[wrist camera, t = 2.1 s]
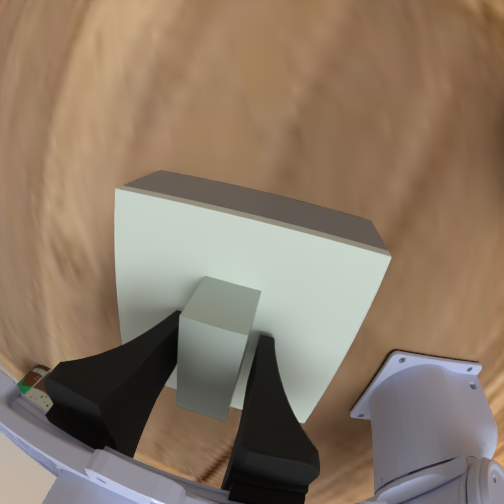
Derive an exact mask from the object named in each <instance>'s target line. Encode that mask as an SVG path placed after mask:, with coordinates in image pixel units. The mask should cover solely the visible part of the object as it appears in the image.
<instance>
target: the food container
mask: <svg viewBox="0 0 504 504" xmlns="http://www.w3.org/2000/svg"><path fill="white" fill-rule="evenodd" d="M51 372H52V371H51V369H50V368H48V367H46V366H43V365H38V366H36V367H35V368H34V369H33V370H32V371H30V372H29V373H28V374H27V375H26V376H25V377H24V378H23V379H22V380H21V381H20V382H18V383H17V385H18V387H19V389H20V392H21V393H23V394H24V395H25V396H27V397H28V398H29V399H31V400H32V401H33V402H35V403H36V404H38V405H39V406H41V407H42V408H43V409H45V410H46V411H49V409H50V408H51V407H52V405H53V403H52V401H51V399H50V397H49V395H48V393H47V391H46V389H45V386H44V380H45V379H46V378H47V376H48V375H49V374H50V373H51Z"/></svg>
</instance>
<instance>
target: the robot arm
mask: <svg viewBox="0 0 504 504" xmlns="http://www.w3.org/2000/svg"><path fill="white" fill-rule="evenodd" d="M181 313H182V311H179V310H176V311H175V312H173V313H172V314H171V315H169V316H168V317H167V318H165V319H164V320H162V321H161V322H160V323H158V324H157V325H155V326H154V327H152V328H151V329H149V330H148V331H146V332H145V333H143V334H141V335H140V336H138V337H136V338H134V339H133V340H131V341H129V342H127V343H125V344H123V345H121V346H119V347H116V348H114V349H112V350H109V351H106V352H104V353H101V354H98V355H94V356H91V357H87V358H83V359H78V360H72V361H65V362H60V363H59V364H58V365H57V366H56V367H55V368H54V369H53V370H52V372H51V373H50V374H49V375H48V376H47V378H46V379H45V380H44V386H45V389H46V391H47V393H48V395H49V397H50V399H51V401H52V403H53V405H52V407H51V408H50V409H49V411H46V410H45V409H43V408H42V407H41V406H39V405H38V404H36V403H35V402H33V401H32V400H31V399H29V398H28V397H27V396H25V395H24V394H23V393H21V392H20V389H19V387H18V385H17V384H16V383H15V382H14V381H13V380H12V379H11V378H10V377H9V376H8V375H6V374H5V373H4V372H3V371H1V370H0V431H1V432H2V433H3V434H4V435H5V436H6V437H8V438H9V439H10V440H11V441H12V442H13V443H14V444H16V445H17V446H18V447H19V448H21V450H23V451H24V452H25V453H26V454H27V455H29V456H30V457H31V458H32V459H34V460H35V461H36V462H38V463H39V464H40V465H41V466H43V467H44V468H46V469H47V470H48V471H49V472H51V473H52V474H54V475H55V476H56V477H57V479H56V480H55V482H54V484H53V485H52V487H51V489H50V491H49V492H48V494H47V496H46V498H45V499H44V501H43V503H42V504H304V502H305V494H307V493H308V487H309V484H310V483H311V482H313V481H314V480H315V479H316V478H317V477H318V476H319V474H320V460H319V454H318V450H317V449H316V447H315V446H314V445H313V444H312V442H311V441H310V439H309V438H308V437H307V435H306V433H305V432H304V430H303V429H302V427H301V425H300V423H299V422H298V420H297V418H296V416H295V414H294V412H293V410H292V408H291V406H290V404H289V401H288V399H287V396H286V393H285V391H284V388H283V384H282V381H281V377H280V373H279V369H278V364H277V359H276V352H275V339H274V338H273V337H270V336H266V335H262V334H261V335H260V338H259V341H258V345H257V348H256V352H255V355H254V358H253V362H252V365H251V369H250V373H249V376H248V380H247V385H246V391H245V397H244V403H243V409H242V415H241V420H240V425H239V429H238V432H237V436H236V439H235V443H234V446H233V450H232V453H231V456H230V460H229V463H228V466H227V470H226V473H225V476H224V479H223V483H222V486H221V489H218V488H215V487H211V486H207V485H204V484H200V483H197V482H194V481H191V480H188V479H185V478H182V477H179V476H176V475H173V474H170V473H167V472H165V471H162V470H159V469H157V468H154V467H152V466H149V465H147V464H144V463H142V462H140V461H137V460H135V459H133V457H134V454H135V451H136V448H137V445H138V443H139V440H140V437H141V435H142V432H143V430H144V427H145V425H146V422H147V420H148V418H149V415H150V413H151V411H152V408H153V406H154V404H155V402H156V399H157V398H158V396H159V394H160V392H161V390H162V389H163V387H164V385H165V384H166V382H167V380H168V379H169V377H170V375H171V374H172V372H173V370H174V369H175V367H176V365H177V357H178V335H179V317H180V314H181ZM401 358H403V359H401ZM481 369H482V366H481V364H480V363H475V362H467V361H459V360H452V359H445V358H438V357H432V356H425V355H419V354H413V353H407V352H401V351H395V352H393V353H391V354H390V355H389V357H388V359H387V360H386V362H385V363H384V365H383V366H382V368H381V369H380V371H379V372H378V374H377V375H376V377H375V378H374V380H373V381H372V383H371V384H370V385H369V387H368V388H367V390H366V391H365V393H364V394H363V395H362V397H361V398H360V399H359V401H358V402H357V403H356V405H355V406H354V407H353V409H352V410H351V411H350V416H351V417H352V418H358V419H367V420H371V431H372V445H373V462H374V493H375V495H374V496H373V497H371V498H369V499H366V501H362V502H358V503H356V504H504V470H503V468H502V467H501V465H500V464H499V463H498V462H497V461H495V460H491V458H492V456H493V454H494V452H495V449H496V444H497V426H496V422H495V419H494V417H493V414H492V411H491V409H490V406H489V403H488V401H487V398H486V396H485V393H484V391H483V389H482V386H481V384H480V382H479V379H478V377H477V374H478V373H479V372H480V371H481Z"/></svg>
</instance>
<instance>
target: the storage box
mask: <svg viewBox="0 0 504 504" xmlns="http://www.w3.org/2000/svg"><path fill="white" fill-rule="evenodd" d="M123 186H128V187H133V188H137V189H142V190H147V191H152V192H157V193H161V194H166V195H171V196H175V197H180V198H184V199H189V200H193V201H198V202H202V203H206V204H211V205H215V206H219V207H224V208H228V209H232V210H236V211H240V212H244V213H249V214H253V215H257V216H261V217H265V218H269V219H273V220H277V221H281V222H285V223H289V224H292V225H296V226H300V227H304V228H308V229H312V230H315V231H319V232H323V233H326V234H330V235H334V236H337V237H341V238H345V239H348V240H352V241H356V242H359V243H363V244H366V245H370V246H373V247H377V248H380V249H384V250H387V251H388V249H387V248H386V246H385V244H384V242H383V240H382V239H381V237H380V235H379V233H378V232H377V230H376V228H375V227H374V225H373V223H372V222H371V221H370V220H366V219H363V218H360V217H356V216H353V215H349V214H346V213H342V212H339V211H335V210H332V209H328V208H324V207H321V206H317V205H313V204H310V203H306V202H302V201H298V200H294V199H290V198H286V197H282V196H278V195H274V194H270V193H266V192H262V191H258V190H253V189H249V188H245V187H240V186H236V185H231V184H227V183H222V182H217V181H213V180H208V179H203V178H198V177H193V176H188V175H183V174H178V173H173V172H167V171H162V170H161V171H158V172H156V173H153V174H150V175H148V176H145V177H143V178H140V179H137V180H135V181H132V182H130V183H128V184H125V185H123Z"/></svg>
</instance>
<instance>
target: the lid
mask: <svg viewBox="0 0 504 504" xmlns="http://www.w3.org/2000/svg"><path fill="white" fill-rule="evenodd" d="M390 260H391V255H390V253H389V251H387V250H384V249H380V248H377V247H373V246H370V245H366V244H363V243H359V242H356V241H352V240H348V239H345V238H341V237H337V236H334V235H330V234H326V233H323V232H319V231H315V230H312V229H308V228H304V227H300V226H296V225H292V224H289V223H285V222H281V221H277V220H273V219H269V218H265V217H261V216H257V215H253V214H249V213H244V212H240V211H236V210H232V209H228V208H224V207H219V206H215V205H211V204H206V203H202V202H198V201H193V200H189V199H184V198H180V197H175V196H171V195H166V194H161V193H157V192H152V191H147V190H142V189H137V188H133V187H128V186H120V187H118V188H115V270H116V288H117V301H118V312H119V322H120V331H121V340H122V345H123V344H125V343H127V342H129V341H131V340H133V339H134V338H136V337H138V336H140V335H141V334H143V333H145V332H146V331H148V330H149V329H151V328H152V327H154V326H155V325H157V324H158V323H160V322H161V321H162V320H164V319H165V318H167V317H168V316H169V315H171V314H172V313H173V312H175V311H176V310H179V311H182V313H181V314H180V317H179V335H178V357H177V365H176V367H175V369H174V370H173V372H172V374H171V375H170V377H169V379H168V380H167V382H166V384H165V386H168V387H170V388H173V389H176V390H177V397H176V406H178V407H181V408H184V409H187V410H190V411H193V412H196V413H199V414H202V415H205V416H208V417H212V418H215V419H219V420H222V421H226V418H227V415H228V411H229V408H230V407H234V408H237V409H241V410H242V409H243V403H244V397H245V391H246V385H247V380H248V376H249V373H250V369H251V365H252V362H253V358H254V355H255V352H256V348H257V345H258V341H259V338H260V335H261V334H262V335H266V336H270V337H273V338H274V339H275V352H276V359H277V364H278V369H279V373H280V377H281V381H282V384H283V388H284V391H285V393H286V396H287V399H288V401H289V404H290V406H291V408H292V410H293V412H294V414H295V416H296V418H297V420H298V422H300V423H305V421H306V420H307V418H308V417H309V415H310V414H311V412H312V411H313V409H314V408H315V406H316V404H317V403H318V401H319V400H320V398H321V396H322V395H323V393H324V391H325V390H326V388H327V386H328V385H329V383H330V381H331V380H332V378H333V376H334V374H335V373H336V371H337V369H338V367H339V366H340V364H341V362H342V360H343V358H344V357H345V355H346V353H347V351H348V349H349V347H350V346H351V344H352V342H353V340H354V338H355V336H356V334H357V332H358V330H359V328H360V326H361V324H362V322H363V320H364V318H365V316H366V314H367V312H368V310H369V308H370V306H371V303H372V301H373V299H374V297H375V295H376V292H377V290H378V288H379V286H380V284H381V281H382V279H383V277H384V274H385V272H386V270H387V267H388V265H389V262H390Z"/></svg>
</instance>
